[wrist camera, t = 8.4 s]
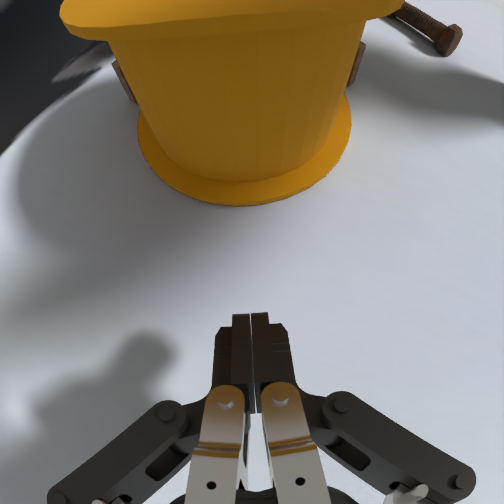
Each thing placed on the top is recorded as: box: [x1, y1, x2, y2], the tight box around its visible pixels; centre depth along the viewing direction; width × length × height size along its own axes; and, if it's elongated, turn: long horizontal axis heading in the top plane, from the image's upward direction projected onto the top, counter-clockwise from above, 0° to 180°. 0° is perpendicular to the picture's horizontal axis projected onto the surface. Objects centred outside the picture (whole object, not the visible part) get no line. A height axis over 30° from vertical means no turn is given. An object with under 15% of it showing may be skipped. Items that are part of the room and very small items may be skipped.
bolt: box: [387, 1, 463, 57], centre depth 25 cm, size 6×5×15 cm
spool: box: [60, 0, 405, 206], centre depth 16 cm, size 18×18×15 cm
